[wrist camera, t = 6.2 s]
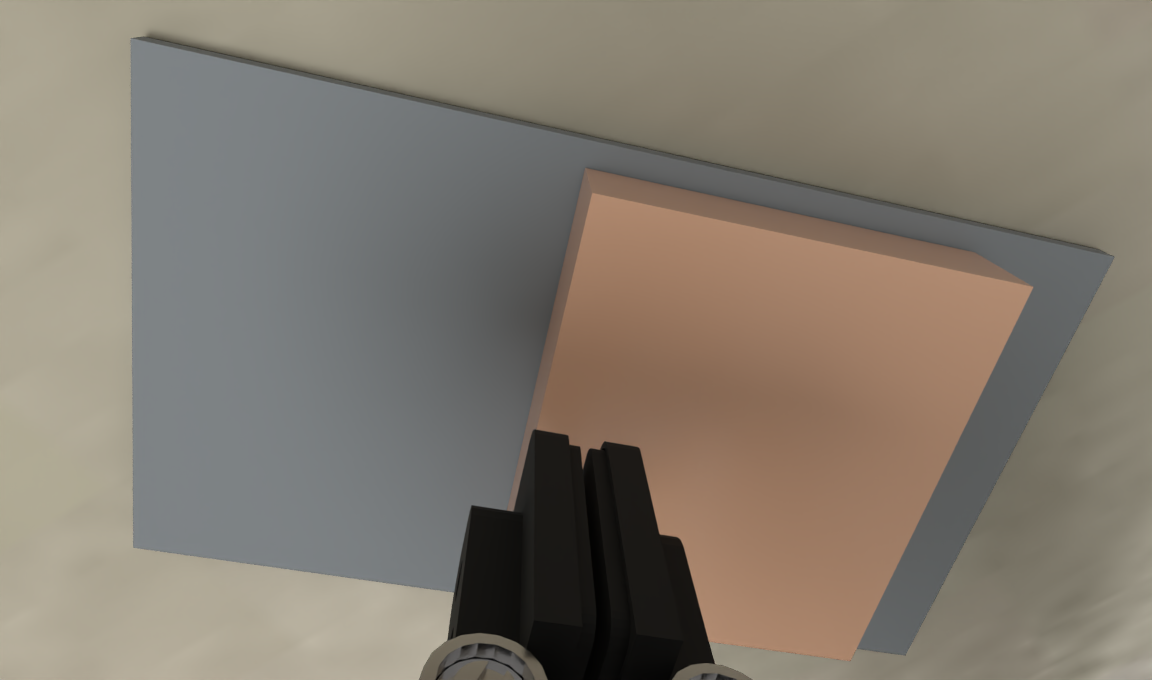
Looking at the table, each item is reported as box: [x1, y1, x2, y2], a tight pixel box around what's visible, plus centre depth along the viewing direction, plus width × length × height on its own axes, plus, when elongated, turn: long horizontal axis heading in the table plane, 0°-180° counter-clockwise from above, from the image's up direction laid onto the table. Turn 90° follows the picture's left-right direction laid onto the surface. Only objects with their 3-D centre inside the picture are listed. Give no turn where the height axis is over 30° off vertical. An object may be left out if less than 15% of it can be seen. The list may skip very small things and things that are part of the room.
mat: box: [131, 37, 1114, 655], centre depth 17 cm, size 19×11×1 cm, turn 77°
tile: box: [507, 168, 1033, 661], centre depth 16 cm, size 2×9×8 cm
